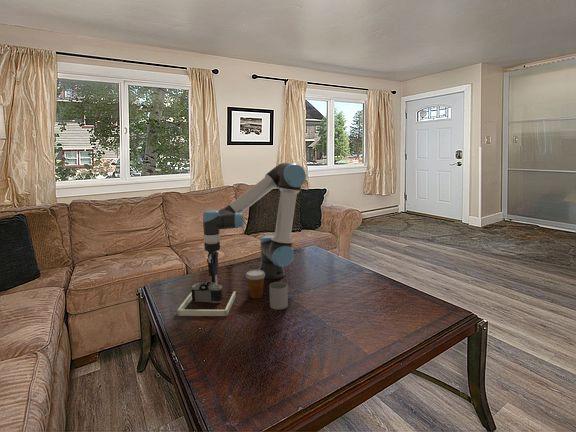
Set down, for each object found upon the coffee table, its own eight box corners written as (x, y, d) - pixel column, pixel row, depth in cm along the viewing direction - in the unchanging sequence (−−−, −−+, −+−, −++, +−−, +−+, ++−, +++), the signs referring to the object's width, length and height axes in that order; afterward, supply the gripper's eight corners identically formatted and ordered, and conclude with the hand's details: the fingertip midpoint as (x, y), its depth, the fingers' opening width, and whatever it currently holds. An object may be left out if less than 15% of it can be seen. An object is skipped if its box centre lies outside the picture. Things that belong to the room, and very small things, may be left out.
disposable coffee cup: (250, 301, 168) (250, 277, 166) (243, 294, 176) (242, 271, 174) (268, 297, 172) (268, 273, 170) (261, 290, 180) (260, 268, 178)
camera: (227, 296, 174) (226, 277, 172) (221, 304, 165) (220, 284, 163) (197, 294, 176) (195, 276, 174) (189, 302, 167) (188, 282, 165)
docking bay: (235, 296, 174) (235, 291, 173) (226, 316, 153) (226, 310, 153) (192, 296, 175) (191, 291, 174) (177, 315, 154) (176, 310, 154)
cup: (269, 302, 167) (269, 282, 165) (286, 301, 167) (286, 281, 165) (270, 310, 158) (269, 289, 156) (288, 309, 159) (288, 288, 157)
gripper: (208, 238, 178) (210, 282, 182) (200, 245, 165) (203, 292, 170) (222, 238, 178) (224, 282, 182) (216, 245, 165) (218, 292, 169)
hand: (214, 287), depth 176 cm, fingers closed
